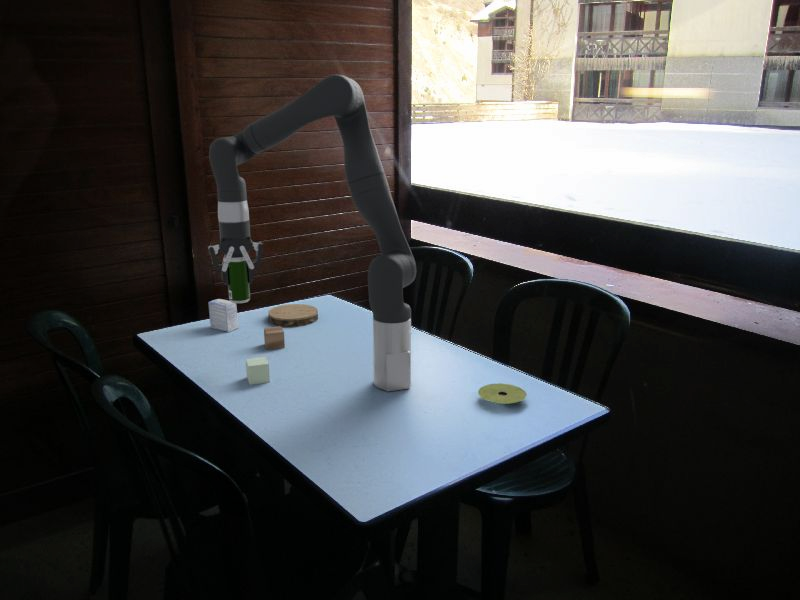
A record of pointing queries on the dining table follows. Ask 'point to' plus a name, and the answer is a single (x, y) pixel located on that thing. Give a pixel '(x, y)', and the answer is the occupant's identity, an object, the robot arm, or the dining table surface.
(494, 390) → the olive yellow disc
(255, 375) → the sage block
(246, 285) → the beer can
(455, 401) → the dining table surface
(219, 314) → the medicine box
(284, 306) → the round wood slice
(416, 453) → the dining table surface
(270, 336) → the walnut block
